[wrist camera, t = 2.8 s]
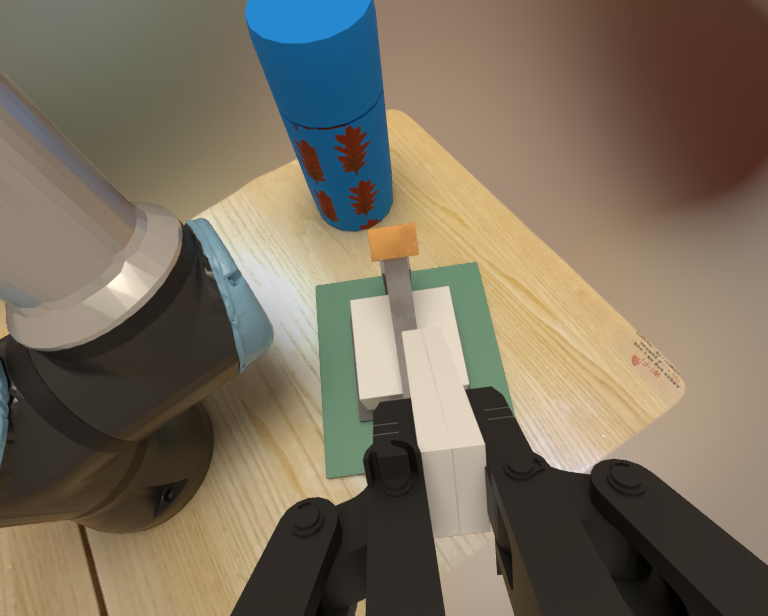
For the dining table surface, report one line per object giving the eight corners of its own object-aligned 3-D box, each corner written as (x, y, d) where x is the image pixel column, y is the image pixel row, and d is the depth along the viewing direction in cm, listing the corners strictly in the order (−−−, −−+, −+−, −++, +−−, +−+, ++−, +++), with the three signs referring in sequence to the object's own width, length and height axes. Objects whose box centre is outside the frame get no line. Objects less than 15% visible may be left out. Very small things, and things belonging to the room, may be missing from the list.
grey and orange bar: (397, 418, 36) (398, 437, 32) (369, 233, 34) (367, 229, 30) (437, 413, 35) (443, 430, 32) (411, 226, 34) (414, 222, 30)
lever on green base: (328, 478, 41) (298, 477, 31) (317, 289, 50) (291, 241, 40) (521, 452, 41) (554, 443, 31) (475, 265, 49) (489, 211, 39)
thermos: (406, 214, 53) (394, 16, 31) (332, 244, 53) (262, 63, 30) (376, 158, 58) (346, -52, 35) (307, 185, 57) (229, -13, 34)
